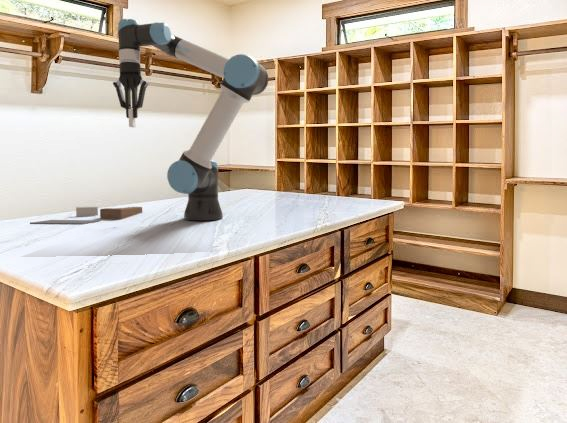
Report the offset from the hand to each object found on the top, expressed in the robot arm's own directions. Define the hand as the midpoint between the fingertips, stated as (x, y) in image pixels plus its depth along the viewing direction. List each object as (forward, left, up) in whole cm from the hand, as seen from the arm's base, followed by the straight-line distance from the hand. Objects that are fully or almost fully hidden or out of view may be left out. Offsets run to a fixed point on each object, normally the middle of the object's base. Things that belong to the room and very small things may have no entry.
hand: (132, 126), depth 179 cm
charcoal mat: (+23, +8, -36) cm, 43 cm away
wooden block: (+11, -3, -34) cm, 35 cm away
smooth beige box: (+26, -12, -36) cm, 46 cm away
